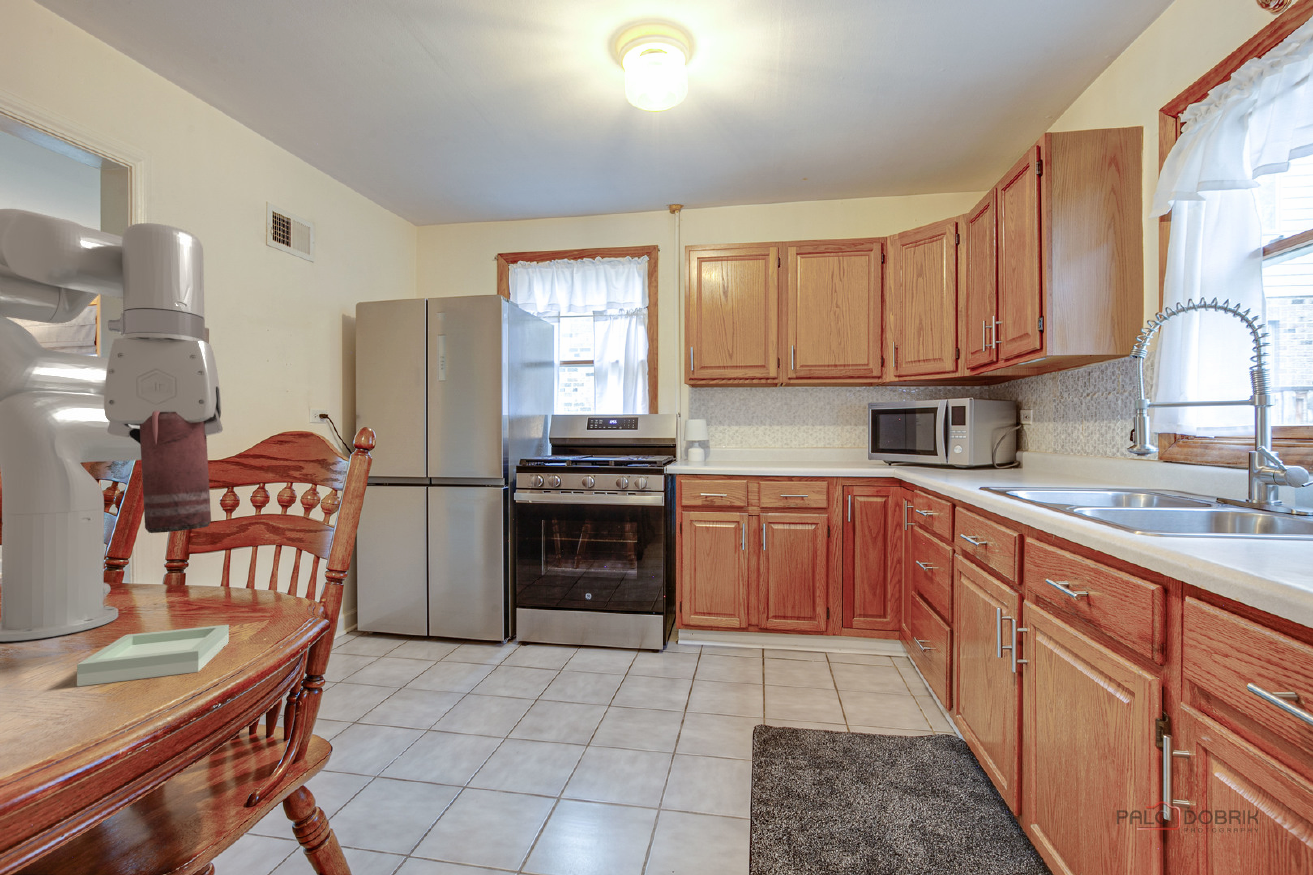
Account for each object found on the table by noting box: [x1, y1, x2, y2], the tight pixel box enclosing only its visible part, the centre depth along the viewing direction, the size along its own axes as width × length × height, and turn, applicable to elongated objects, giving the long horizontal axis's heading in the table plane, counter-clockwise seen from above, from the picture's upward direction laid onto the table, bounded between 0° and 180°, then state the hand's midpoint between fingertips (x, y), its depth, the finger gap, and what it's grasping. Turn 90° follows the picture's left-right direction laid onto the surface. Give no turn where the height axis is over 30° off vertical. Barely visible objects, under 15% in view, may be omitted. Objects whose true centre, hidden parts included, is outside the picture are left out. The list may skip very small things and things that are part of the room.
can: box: [140, 411, 212, 534], centre depth 69 cm, size 6×6×14 cm
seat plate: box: [76, 624, 230, 687], centre depth 65 cm, size 10×10×2 cm
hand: (168, 483), depth 69 cm, fingers closed
